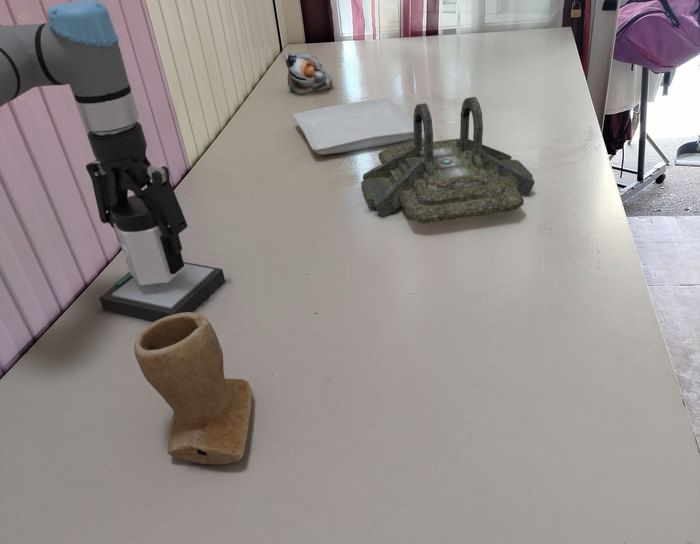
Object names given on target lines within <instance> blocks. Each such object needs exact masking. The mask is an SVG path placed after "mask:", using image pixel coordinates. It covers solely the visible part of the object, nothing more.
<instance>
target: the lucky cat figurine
mask: <svg viewBox="0 0 700 544" xmlns="http://www.w3.org/2000/svg"><path fill="white" fill-rule="evenodd" d="M283 57H284V62H285V64H286V67H287V71H288V72H287V86H288V88H289V90H290V92H291V93H294V94H296V95H303V94H306V93H310V92H316V91H323V90H331V89H332V84H333V79H332V77H331V75H330V74H329V73H328V72H327V71H326V70H325V68H324V67H323V65H322V63H321V61H319V60H318V58H317V56H316V55H313V56H312V55H311V54H309V53H306V52H297V53H295V54H293V55H291V54H290V52H286V53H285V54H284V55H283Z"/></svg>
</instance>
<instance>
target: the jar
mask: <svg viewBox="0 0 700 544" xmlns="http://www.w3.org/2000/svg"><path fill="white" fill-rule="evenodd" d="M111 214H112V218H113V221H114V227H115V230H116V232H115V234H116V233H117V235H116V237H117V236H118V238H117V240H118V239H119V241H118V243H119V242H120V243H119V245H120V244H121V245H120V247H121V250H122V253H123V256H124V259H125V262H126V265H127V267H128V272H130V274H131V275H132V276H133V277H134V279H135V280H136V281H137V282H138V283H139V284H140V285H148V284H157V283H166V282H169V281H170V280H172V279H173V278H174V277H175V276H176V275H178V274H179V273H180V272H181V271H182V270H184V269H185V265H184V267H183V268H181V269H180V270H179V271H178V272H177V273H175V274H171V273H170V270H169V266H168V263H167V260H166V256H165V253H164V250H163V246H162V243H161V239H160V237H161V236H162V235H163V233H162V231H161V230H160V228H159V227H158V225H157V223H156V221H155V218H154V214H153V212H152V211H150V210H148V209H147V208H146V206H145V205H144V203H143V201H142V200H141V199H140V198H137V197H136V195H135V194H134V195H133V194H132V195H130V196H128V197H127V200H125V201H124V202H122V203H120V204H119V205H117V206H116V205H113V206H112V208H111ZM168 227H169V225H168ZM115 230H114V231H115ZM180 252H181V253H182V251H180ZM182 259H183V260H184V258H183V257H182Z"/></svg>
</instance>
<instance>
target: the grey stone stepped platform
mask: <svg viewBox="0 0 700 544" xmlns="http://www.w3.org/2000/svg"><path fill="white" fill-rule="evenodd" d="M413 111H414V112H413V119H414V138H413V143H412V144H408V145H400V146H393V147H387V148H385V149H382V150H381V151H380V152H379V153H378V160H379V161H380V163H381V164H379V165H377V166H375V167H373V168H372V169H370V170H368V171H366V172H365V173H363V175H362V181H361V182H360V185H361V186H360V187H361V191H362V193H363V196H364V199H365V202H366V203H367V205H368V206H369V207H374V208H375V210H376V212H377V214H378V216H381V218H383V217H386V216H387V215H390V214H392V213H395V211H396V210H397V209H398V208H399V207H402V208H403V209H404V211H405V213H406V214H407V216H408V218H409V220H410V221H412V222H414V223H420V224H424V225H427V224H433V223H438V222H446V221H453V220H460V219H465V218H466V219H468V218H474V217H481V216H488V215H494V214H501V213H508V212H514V211H515V212H516V211H518V210H519V209H520V208H521V207H522V206H524V201H525V199H524V198H523V196H530V194H531V191H532V189H533V188H534V185H535V179H534V177H533V176H534V175H533V174H532V173H531V171H530V170H528V169H527V167H525V165H524V164H522V162H521V161H520V160H518V159H512V158H513V156H512V155H509V154H508V153H505V152H503V151H500V150H498V149H495V148H492V147H489V146H487V145H485V144H483V133H484V124H483V123H484V122H483V121H484V120H483V111H482V108H481V104H480V102H479V100H478V98H477V96H471V97H466V98H464V100H463V102H462V105H461V111H460V128H459V129H460V131H459V138H452V139H450V138H449V139H442V140H437V141H434V129H433V118H432V115H431V111H430V109H429V106H428V103H426V102H425V103H418V104H416V105H415V107H414V110H413ZM470 114H471V116H472V119H473V120H472V122H473V123H472V124H473V137H472V139H470V138H469V137H470V136H469V135H470ZM422 128H423V129H424V130H423V131H422ZM423 136H424V137H423ZM423 139H424V140H423Z"/></svg>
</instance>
